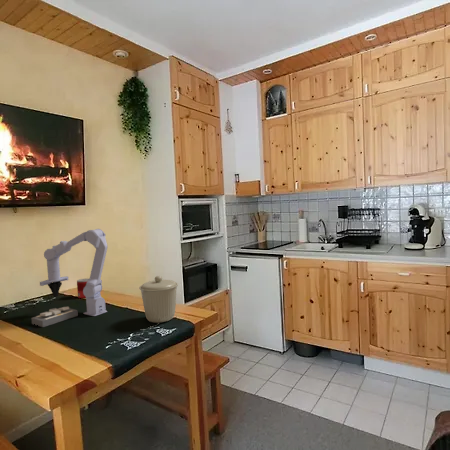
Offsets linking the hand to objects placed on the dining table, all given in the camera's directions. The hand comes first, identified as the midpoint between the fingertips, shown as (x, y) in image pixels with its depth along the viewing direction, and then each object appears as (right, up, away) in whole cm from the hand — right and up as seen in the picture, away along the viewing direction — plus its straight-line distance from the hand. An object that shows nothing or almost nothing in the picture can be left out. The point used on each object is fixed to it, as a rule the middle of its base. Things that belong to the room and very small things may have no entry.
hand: (55, 296), depth 177 cm
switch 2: (+5, -6, -10) cm, 12 cm away
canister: (+59, -8, -16) cm, 61 cm away
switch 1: (+2, -6, -13) cm, 15 cm away
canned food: (+2, -8, +33) cm, 34 cm away
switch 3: (+7, -5, -6) cm, 11 cm away
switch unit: (+5, -10, -9) cm, 14 cm away
